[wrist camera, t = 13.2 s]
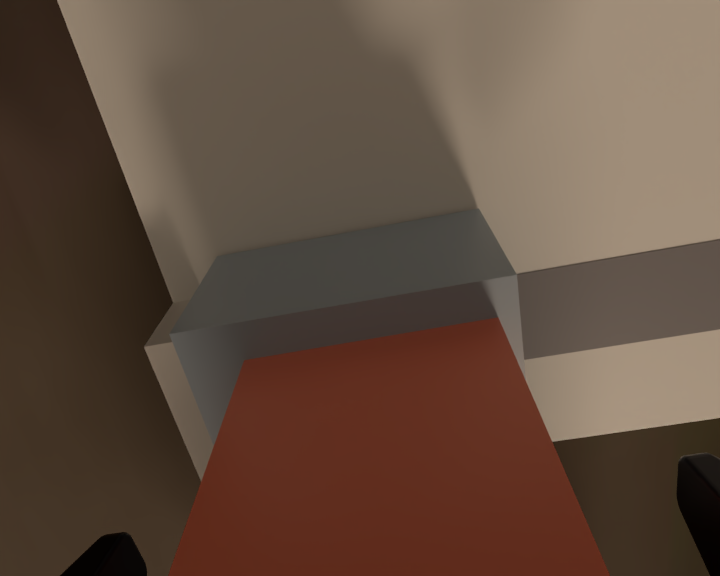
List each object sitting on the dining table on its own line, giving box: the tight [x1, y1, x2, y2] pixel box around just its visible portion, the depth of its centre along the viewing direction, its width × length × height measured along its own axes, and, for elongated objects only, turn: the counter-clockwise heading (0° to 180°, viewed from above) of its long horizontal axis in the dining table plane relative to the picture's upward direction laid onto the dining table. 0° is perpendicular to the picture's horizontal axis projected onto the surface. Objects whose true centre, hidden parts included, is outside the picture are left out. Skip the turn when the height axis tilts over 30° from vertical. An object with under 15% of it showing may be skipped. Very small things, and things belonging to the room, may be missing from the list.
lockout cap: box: [168, 317, 610, 576], centre depth 9 cm, size 4×4×5 cm
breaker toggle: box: [169, 208, 526, 445], centre depth 12 cm, size 6×6×4 cm
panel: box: [57, 0, 720, 481], centre depth 12 cm, size 18×15×3 cm
